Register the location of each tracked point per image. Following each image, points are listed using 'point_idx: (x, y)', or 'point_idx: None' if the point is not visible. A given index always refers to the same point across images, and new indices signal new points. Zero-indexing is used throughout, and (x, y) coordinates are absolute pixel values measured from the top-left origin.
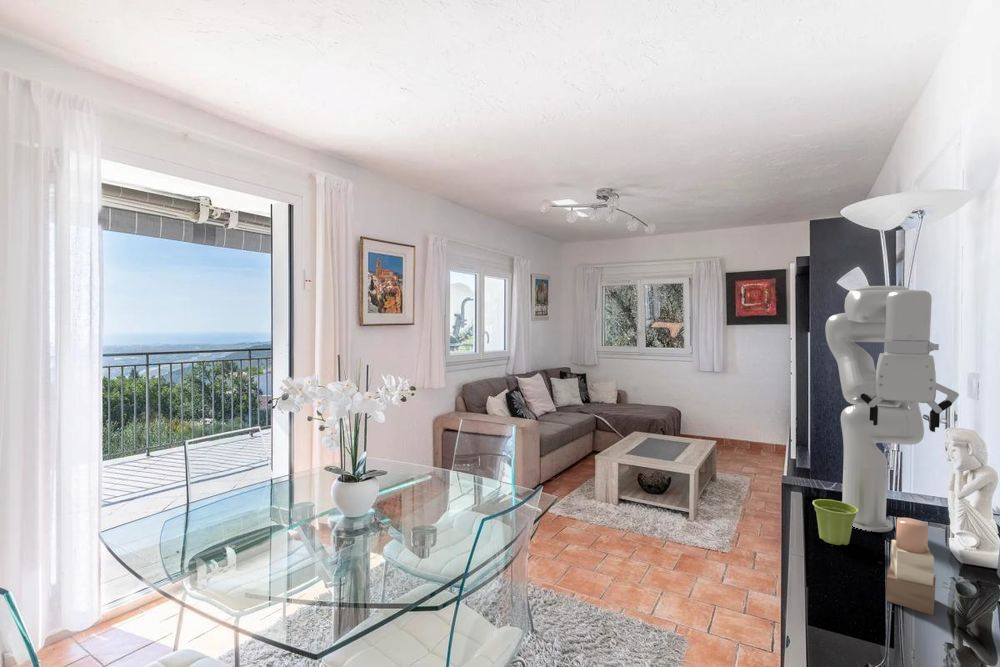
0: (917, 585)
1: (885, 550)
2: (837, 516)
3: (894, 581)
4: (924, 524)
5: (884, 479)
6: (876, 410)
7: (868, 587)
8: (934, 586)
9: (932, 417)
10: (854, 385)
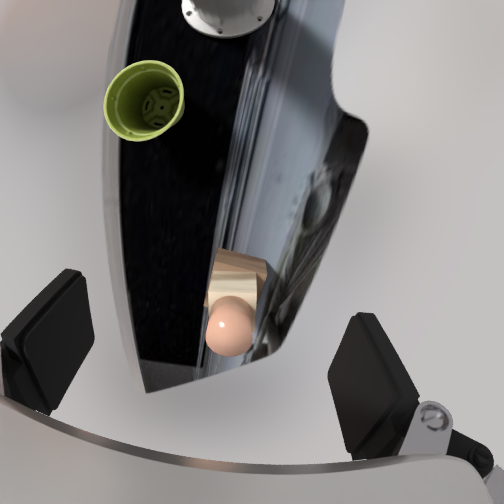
0: None
1: (238, 109)
2: (144, 136)
3: None
4: (246, 340)
5: None
6: (54, 403)
7: (192, 262)
8: None
9: (347, 435)
10: None
